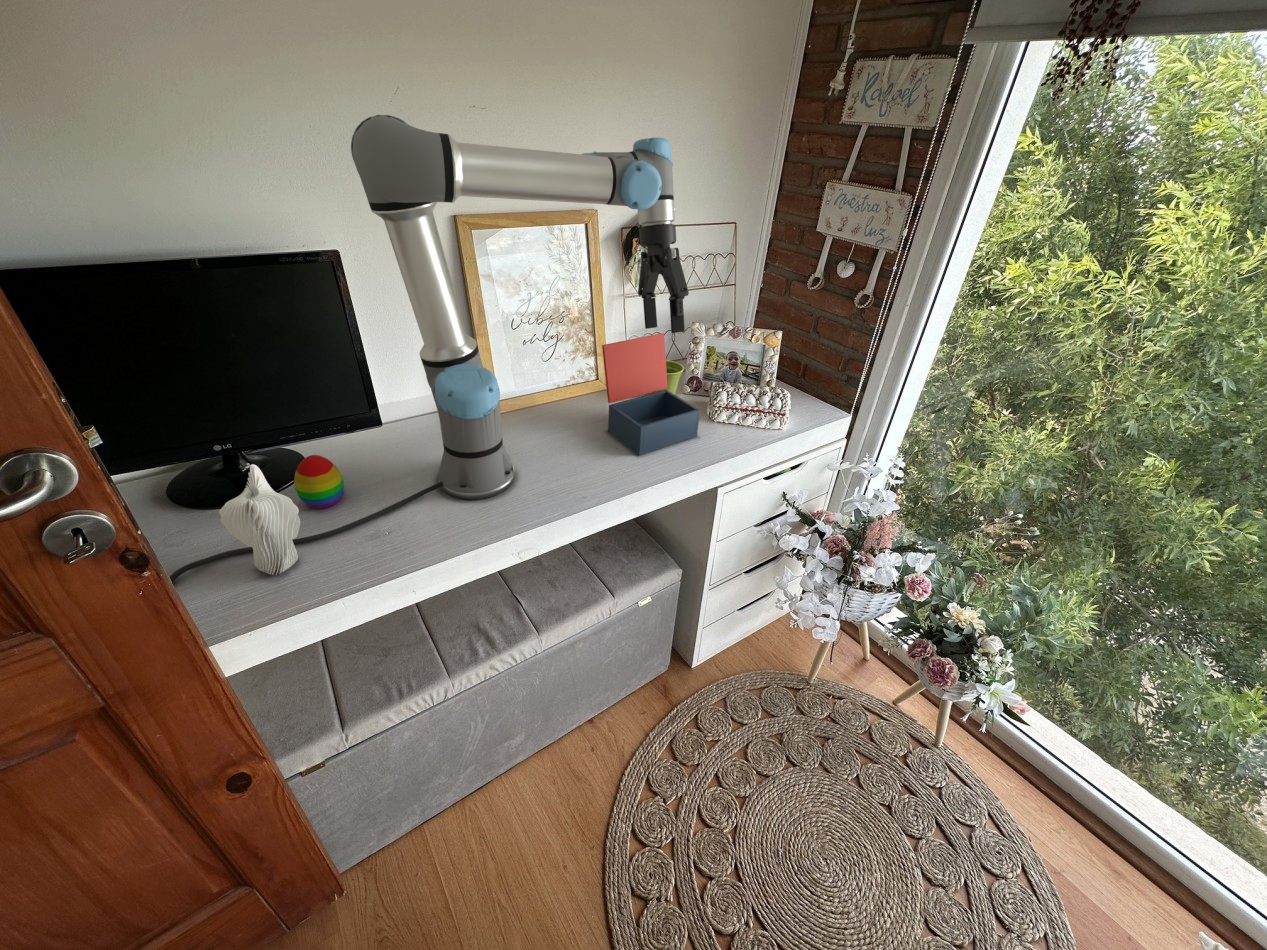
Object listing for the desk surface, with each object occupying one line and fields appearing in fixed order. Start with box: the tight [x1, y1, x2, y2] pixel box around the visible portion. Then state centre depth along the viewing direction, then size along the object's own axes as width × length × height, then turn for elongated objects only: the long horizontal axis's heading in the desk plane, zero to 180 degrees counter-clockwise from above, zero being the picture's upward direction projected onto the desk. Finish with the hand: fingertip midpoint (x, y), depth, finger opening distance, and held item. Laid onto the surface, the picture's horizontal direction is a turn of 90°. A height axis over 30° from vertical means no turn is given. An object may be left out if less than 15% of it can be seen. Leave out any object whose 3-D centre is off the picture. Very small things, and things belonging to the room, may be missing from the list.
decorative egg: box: [293, 454, 345, 510], centre depth 110 cm, size 8×8×10 cm
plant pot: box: [652, 359, 685, 395], centre depth 159 cm, size 9×9×9 cm
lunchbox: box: [607, 390, 701, 456], centre depth 140 cm, size 13×18×7 cm
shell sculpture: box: [218, 463, 301, 576], centre depth 92 cm, size 8×8×18 cm
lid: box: [601, 332, 668, 404], centre depth 140 cm, size 14×18×1 cm
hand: (664, 330), depth 127 cm, fingers open, 13 cm apart
